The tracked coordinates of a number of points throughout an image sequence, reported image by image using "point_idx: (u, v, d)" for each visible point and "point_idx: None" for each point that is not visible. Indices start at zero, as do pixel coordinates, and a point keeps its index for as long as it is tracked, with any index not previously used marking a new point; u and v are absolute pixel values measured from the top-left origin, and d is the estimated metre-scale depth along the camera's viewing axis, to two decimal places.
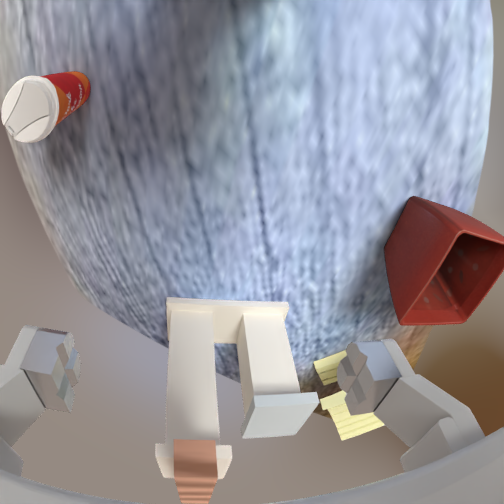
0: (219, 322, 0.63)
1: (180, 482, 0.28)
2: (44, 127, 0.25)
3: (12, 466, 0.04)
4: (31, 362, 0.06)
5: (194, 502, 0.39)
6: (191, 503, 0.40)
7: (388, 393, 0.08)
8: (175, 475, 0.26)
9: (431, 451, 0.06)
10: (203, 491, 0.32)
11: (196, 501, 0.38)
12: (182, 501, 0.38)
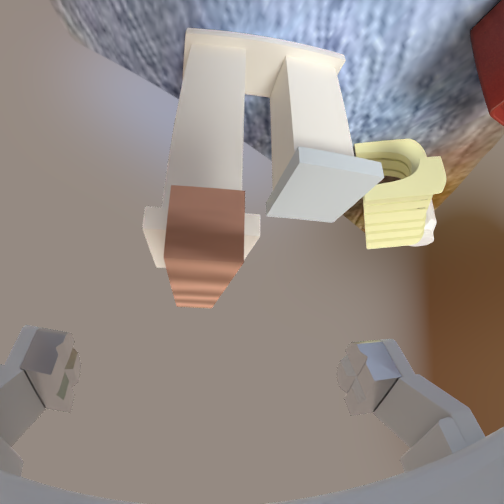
0: (253, 65, 0.43)
1: (175, 271, 0.20)
2: None
3: (12, 467, 0.04)
4: (30, 362, 0.06)
5: (194, 306, 0.39)
6: None
7: (388, 393, 0.08)
8: (166, 255, 0.17)
9: (431, 451, 0.06)
10: (210, 290, 0.27)
11: (196, 304, 0.37)
12: (178, 304, 0.37)
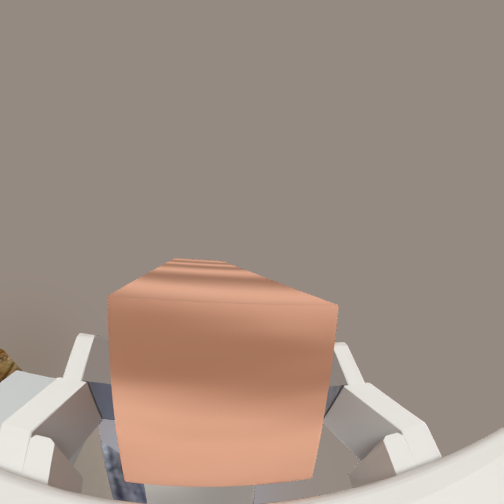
0: None
1: (272, 286, 0.10)
2: None
3: (75, 485, 0.05)
4: (94, 373, 0.06)
5: (199, 260, 0.28)
6: None
7: (334, 401, 0.08)
8: (331, 311, 0.06)
9: (376, 469, 0.06)
10: (183, 268, 0.15)
11: None
12: None
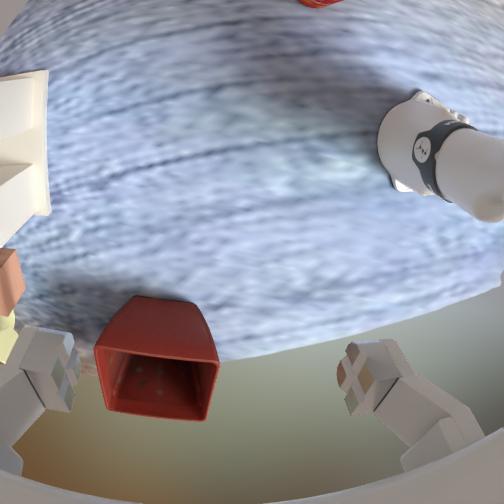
0: (17, 138, 0.37)
1: None
2: None
3: (12, 466, 0.04)
4: (31, 362, 0.06)
5: None
6: None
7: (388, 393, 0.08)
8: None
9: (431, 451, 0.06)
10: None
11: None
12: None
